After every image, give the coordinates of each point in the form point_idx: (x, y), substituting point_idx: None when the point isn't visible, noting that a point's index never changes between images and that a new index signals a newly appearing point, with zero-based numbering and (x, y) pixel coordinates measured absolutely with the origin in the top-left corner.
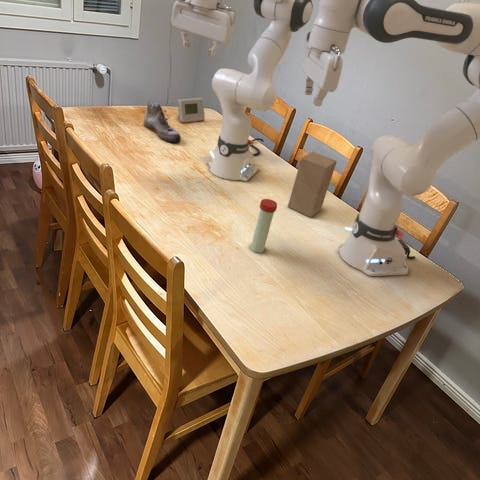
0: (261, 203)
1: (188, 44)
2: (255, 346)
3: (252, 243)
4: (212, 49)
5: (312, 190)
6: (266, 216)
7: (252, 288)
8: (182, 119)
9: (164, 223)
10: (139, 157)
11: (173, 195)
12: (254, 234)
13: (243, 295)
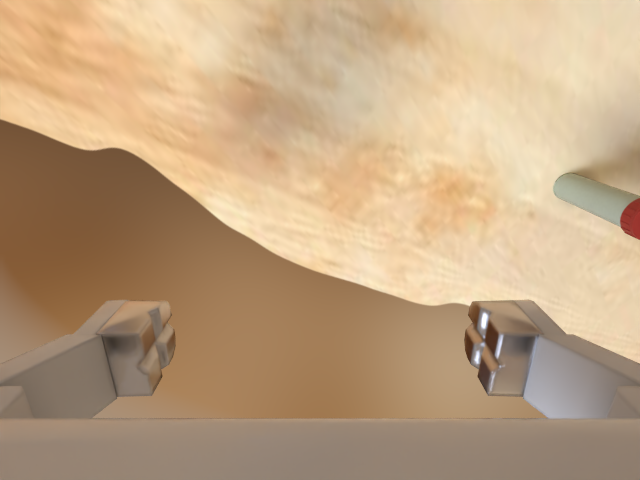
0: (633, 235)
1: (153, 340)
2: None
3: (563, 199)
4: (547, 403)
5: None
6: None
7: (594, 288)
8: None
9: (377, 252)
10: (98, 46)
11: (314, 148)
12: (575, 204)
13: (586, 310)
